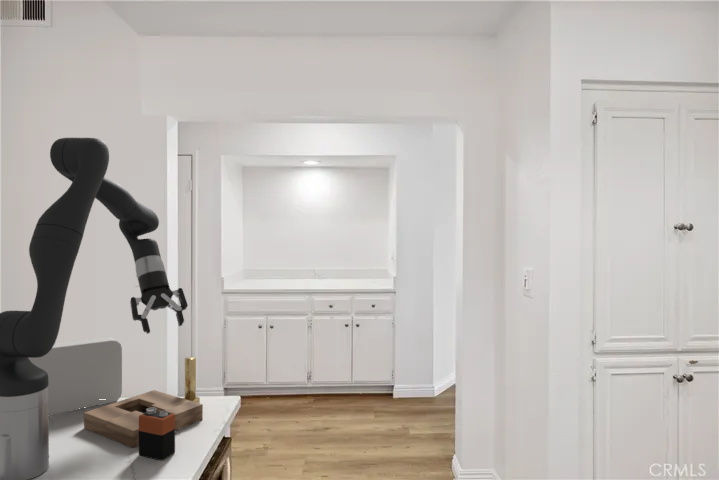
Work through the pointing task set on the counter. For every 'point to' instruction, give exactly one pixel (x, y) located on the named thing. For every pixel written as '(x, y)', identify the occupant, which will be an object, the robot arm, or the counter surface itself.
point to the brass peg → (190, 380)
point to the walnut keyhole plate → (124, 415)
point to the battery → (156, 434)
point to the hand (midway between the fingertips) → (165, 329)
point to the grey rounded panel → (82, 373)
